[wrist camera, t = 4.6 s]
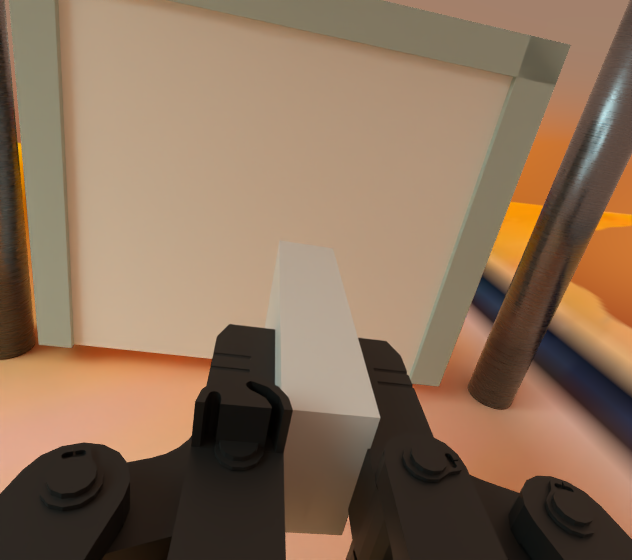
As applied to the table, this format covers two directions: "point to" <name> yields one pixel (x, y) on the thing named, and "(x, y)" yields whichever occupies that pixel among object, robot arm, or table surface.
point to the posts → (533, 270)
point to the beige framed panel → (266, 163)
